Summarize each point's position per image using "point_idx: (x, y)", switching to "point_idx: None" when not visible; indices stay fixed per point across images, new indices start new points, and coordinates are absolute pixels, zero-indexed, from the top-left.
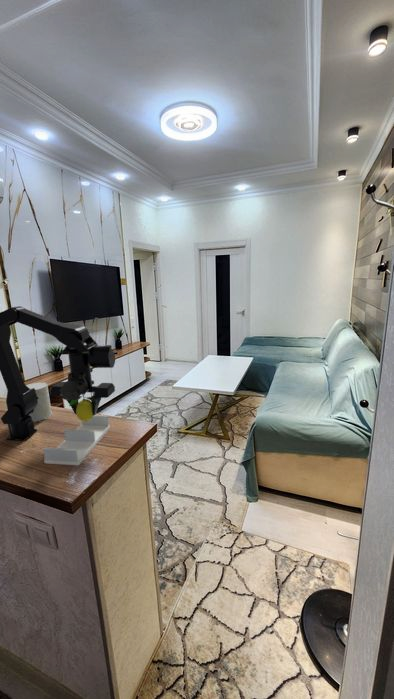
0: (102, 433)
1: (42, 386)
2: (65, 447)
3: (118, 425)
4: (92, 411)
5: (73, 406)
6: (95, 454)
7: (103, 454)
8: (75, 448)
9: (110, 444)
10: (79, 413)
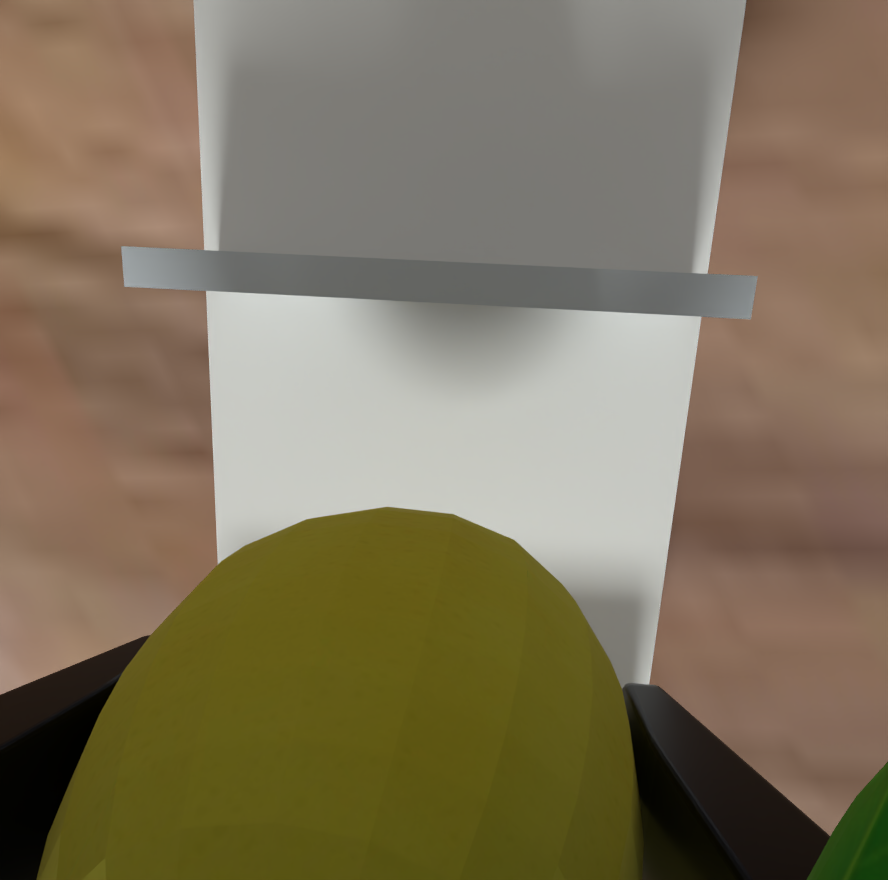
0: (219, 488)
1: None
2: (597, 63)
3: None
4: (94, 685)
5: (757, 873)
6: (113, 13)
7: (7, 23)
8: (419, 49)
9: (41, 280)
10: (428, 561)
